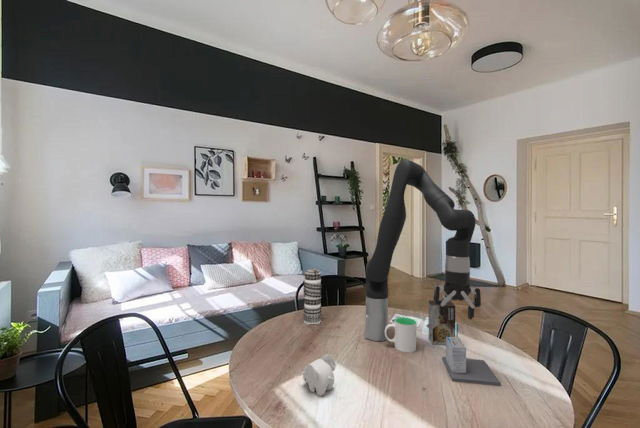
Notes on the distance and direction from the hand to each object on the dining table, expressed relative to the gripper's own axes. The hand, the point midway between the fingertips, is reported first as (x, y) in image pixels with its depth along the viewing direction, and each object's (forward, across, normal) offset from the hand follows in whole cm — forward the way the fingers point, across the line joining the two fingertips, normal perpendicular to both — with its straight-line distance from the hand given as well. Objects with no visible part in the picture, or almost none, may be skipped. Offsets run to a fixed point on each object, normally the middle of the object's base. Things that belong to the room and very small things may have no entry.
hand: (456, 317), depth 101 cm
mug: (+18, -17, +14) cm, 28 cm away
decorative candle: (+18, -56, +34) cm, 68 cm away
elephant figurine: (+18, -44, -18) cm, 51 cm away
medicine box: (+17, 0, 0) cm, 17 cm away
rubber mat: (+18, +4, 0) cm, 18 cm away
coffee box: (+18, 0, +22) cm, 29 cm away
